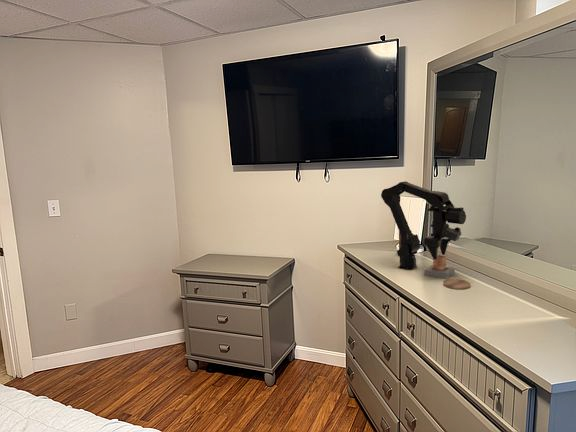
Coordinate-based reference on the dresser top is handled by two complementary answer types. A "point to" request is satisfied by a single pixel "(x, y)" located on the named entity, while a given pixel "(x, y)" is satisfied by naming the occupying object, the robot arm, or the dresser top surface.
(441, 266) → the block
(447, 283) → the pad
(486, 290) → the dresser top surface
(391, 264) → the dresser top surface
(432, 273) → the collar
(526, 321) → the dresser top surface
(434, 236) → the robot arm
